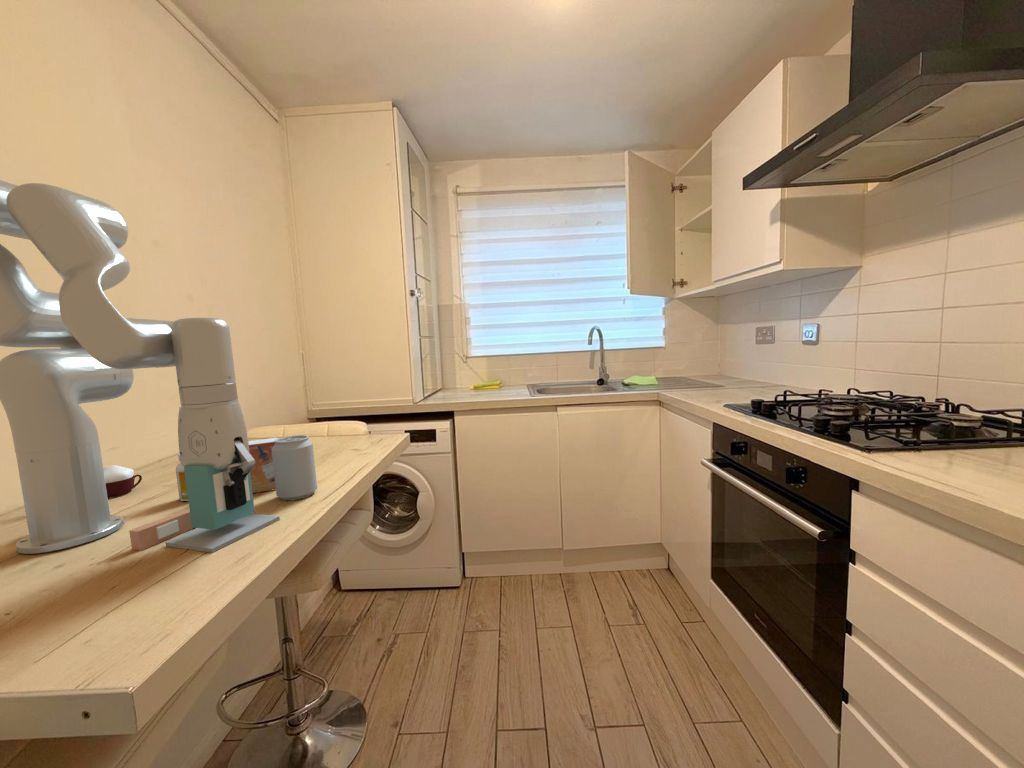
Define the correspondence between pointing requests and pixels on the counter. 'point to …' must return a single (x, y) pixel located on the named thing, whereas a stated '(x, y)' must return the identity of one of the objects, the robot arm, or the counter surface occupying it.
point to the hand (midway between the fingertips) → (223, 504)
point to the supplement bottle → (181, 481)
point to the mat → (222, 533)
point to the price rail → (160, 530)
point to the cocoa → (119, 480)
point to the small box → (262, 465)
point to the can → (294, 467)
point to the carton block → (213, 497)
